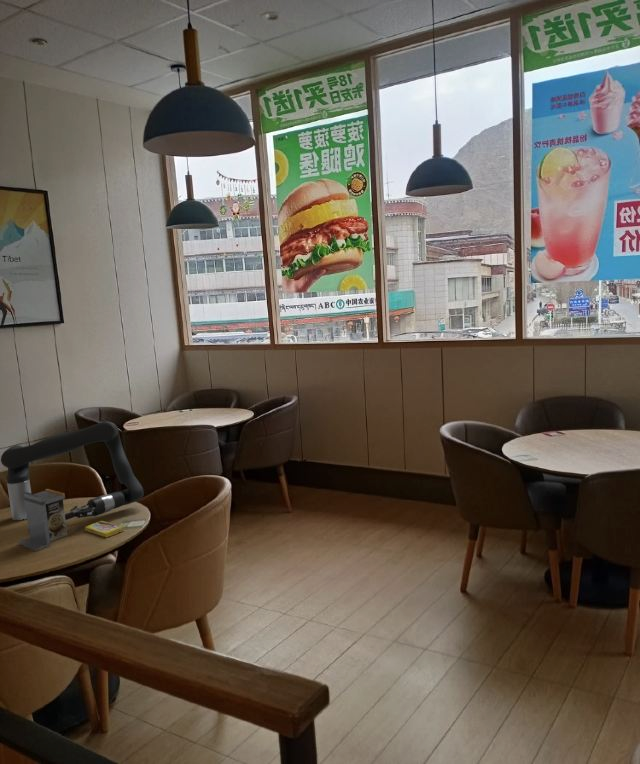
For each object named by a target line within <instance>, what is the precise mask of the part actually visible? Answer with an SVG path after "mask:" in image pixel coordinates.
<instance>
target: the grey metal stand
mask: <svg viewBox="0 0 640 764" xmlns="http://www.w3.org/2000/svg"><path fill="white" fill-rule="evenodd" d="M61 499H63V500H64V499H66V495H65V492H62V491H61V492H60V491H57V490H53V489H50V488H45V490H43V491H40V492H36V493H32V492H31V493H28V492H27V493H24V500H25V507H26V514H27V519H26V520H27V526H28V535H29V538H26V539H22V540H20V541H17V545H18V544H19V545H18V546H20V545H22V546H21V547H23V546H24V547H23V548H25V547H27V548H26V549H28V548H29V549H28V550H31V551H33V550H34V551H33V552H38V551H40V550H42V548H43V549H45V547H46V548H49V547H50V545H51V546H52V543H51V542H52V541H51V542H50V534H49V527H48V519H47V512H46V505H45V504H49V503H52V502H55V501H58V500H61ZM39 549H40V550H39Z"/></svg>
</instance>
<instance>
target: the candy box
mask: <svg viewBox="0 0 640 764" xmlns="http://www.w3.org/2000/svg"><path fill="white" fill-rule="evenodd" d="M124 529H125V528H124V527H123V526H121V525H117V524H114V523H111V522H108V521H104V520H100V521H97V522H95V523H90V524H89V525H87V526H85V527H84V530H85V531H86V532H89V533H91V534H94V535H97V536H101V537H103V538H108V537H112V536H115V535H117V534H119V532H120V533H121V532H124Z"/></svg>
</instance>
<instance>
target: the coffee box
mask: <svg viewBox="0 0 640 764" xmlns="http://www.w3.org/2000/svg"><path fill="white" fill-rule="evenodd" d="M45 505H46V512H47V519H48V527H49V534H50V542H53V541H56V540H59V539H61V538H64V537H66V536H68V530H67V529H68V528H67V520H65V514H66V513H65V504H64V499H61V500H58V501H55V502H52V503H49V504H45Z"/></svg>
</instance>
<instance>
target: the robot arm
mask: <svg viewBox="0 0 640 764" xmlns="http://www.w3.org/2000/svg"><path fill="white" fill-rule="evenodd" d="M99 442H104V444H105V446H106V447H107V449H108V451H109V454H110V457H111V461H112V466H113V468H114V469H113V470H114V472H115V474H116V477H117V479H118V482H119V483H120V484H121V485H125V486H126V489H123V490H120V491H113V492H111V493H107V494H103V495H100V496H97V497H93V498H90V499H89V500H88V501H87V503H86V504H82V505H80V506H78V505H75V506H74V507H72V508H71V509H70V510H69V512H68V513H65V520H66V521H67V520H70V519H73V518H74V519H76V518H77V519H80V518H86V517H87V518H89V517H96V516H99V515H102V514H105V513H108V512H111V511H112V510H115V509H117V508H120V507H122V506H126V505H127V506H128V505H131V504H133V503H135V502H137V501H139V500H141V499H142V498H143V496H144V493H145V492H144V488H143V486H142V484H141V483H140V481H139V480H138V479H137V477H136V476H135V474H134V472H133V470H132V467H131V464H130V463H129V460H128V458H127V455H126V452H125V450H124V448H123V444H122V441H121V436H120V432H119V427H118V426H117V424H115V423H114V422H112V421H106V420H105V421H101V422H98V423H95V424H93V425H90V426H88V427H85V428H82V429H76V430H71V431H66V432H63V433H58V434H55V435H52V436H48V437H46V438H44V439H42V440H39V441H38V442H35V443H33V444H30V445H25V446H21V445H20V444H18V445H17V444H16V445H15V444H14V445H12V446H10V447H9V448H7V449H6V450H5V451H3V452H2V454H1V455H0V463H1V464H2V465H3V467H5V468H7V475H6V485H7V490H8V491H7V492H8V497H9V506H10V511H11V519H12V520H13V521H22V520H23V519H24V520H27V514H26V507H25V500H24V493H27V492H28V493H31V494H32V489H31V483H30V463H32V462H35V461H38V460H43V459H47V458H49V459H50V458H53V457H56V456H61V455H65V454H68V453H70V452H73V451H75V450H77V449H80V448H81V447H84V446H87V445H90V444H94V443H99Z"/></svg>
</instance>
